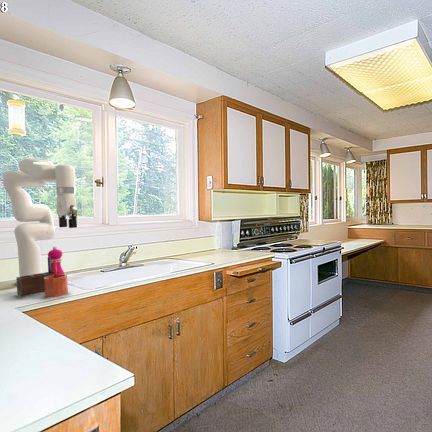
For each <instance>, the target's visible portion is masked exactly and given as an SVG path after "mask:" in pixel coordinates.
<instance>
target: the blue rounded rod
mask: <svg viewBox="0 0 432 432" xmlns="http://www.w3.org/2000/svg"><path fill="white" fill-rule="evenodd" d="M47 272H48V274H49V273H51V258H50V257H48V256H47Z"/></svg>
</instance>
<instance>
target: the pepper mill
mask: <svg viewBox="0 0 432 432" xmlns="http://www.w3.org/2000/svg"><path fill="white" fill-rule="evenodd" d="M48 257H50V258H51V271H54V266H53V261H54V260H56V265H57V272H59V274H66V273H65V271H64V270H63V268H62V263H61V262H62V257H63V251H62V250H61V249H58V247H57V246H53V247H52V249H51V250H49V251H48V252H47V258H48Z"/></svg>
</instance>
